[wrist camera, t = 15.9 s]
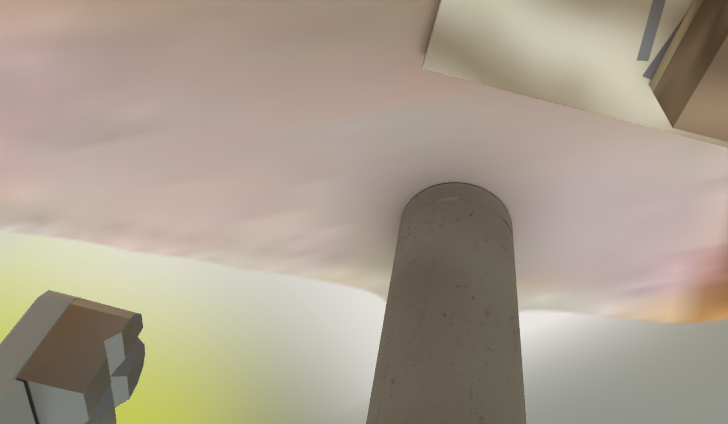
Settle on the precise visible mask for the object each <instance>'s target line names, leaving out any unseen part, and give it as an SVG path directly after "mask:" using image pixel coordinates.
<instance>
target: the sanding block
mask: <svg viewBox="0 0 728 424" xmlns="http://www.w3.org/2000/svg"><path fill="white" fill-rule="evenodd" d="M648 85H649V86H650V88H651V90H652V92H653V94H654V95H655V97H656V99H657V101H658V103H659V104H660V106H661V108H662V110H663V112H664V113H665V115H666V117H667V119H668V121H669V122H670V124H671V126H672V128H674V129H678V130H682V131H686V132H690V133H694V134H698V135H702V136H706V137H710V138H714V139H718V140H722V141H726V142H728V0H694V1H693V3H692V4H691V6H690V8H689V10H688V12H687V14H686V16H685V17H684V19H683V21H682V23H681V25H680V27H679V29H678V30H677V32H676V34H675V36H674V38H673V40H672V42H671V43H670V45H669V47H668V49H667V51H666V53H665V55H664V56H663V58H662V60H661V62H660V64H659V66H658V68H657V69H656V71H655V73H654V75H653V77H652V79H651V81H650V82H649V84H648Z"/></svg>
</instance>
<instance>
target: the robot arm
mask: <svg viewBox="0 0 728 424" xmlns="http://www.w3.org/2000/svg"><path fill="white" fill-rule="evenodd" d="M142 328H143V324H142V316H141V314H139V313H135V312H131V311H127V310H124V309H120V308H116V307H112V306H109V305H105V304H101V303H97V302H93V301H89V300H86V299H82V298H79V297H74V296H71V295H67V294H62V293H58V292H54V291H50V290H49V291H47V292H45V293H44V294H42V295H41V296H40V297H38V298H37V299H36V300H35V302H34V303H33V304H32V305H31V307H30V308H29V309H28V310H27V312H26V313H25V314H24V315H23V317H22V318H21V319H20V321H19V322H18V323H17V324H16V325H15V326H14V328H13V329H12V330H11V331H10V333H9V334H8V335H7V336H6V338H5V339H4V340H3V341H2V343H1V344H0V424H116V415H115V407H117V406H119V405H120V404H122V403H124V402H125V401H127V400H128V399H130V396H131V395H132V393H133V391H134V389H135V387H136V385H137V383H138V380H139V377H140V374H141V371H142V368H143V364H144V357H145V348H144V344H143V342H142V341H141V340H140V339H139V338H138V335H139V333H140V332H141V330H142Z"/></svg>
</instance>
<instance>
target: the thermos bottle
mask: <svg viewBox="0 0 728 424" xmlns="http://www.w3.org/2000/svg"><path fill="white" fill-rule="evenodd" d="M518 316H519V315H518V301H517V287H516V273H515V259H514V245H513V232H512V223H511V218H510V216H509V213H508V211H507V209H506V208H505V206H504V205H503V204H502V202H501V201H499V200H498V199H497V198H496V197H495V196H494V195H492V194H491V193H489V192H488V191H486V190H484V189H481V188H479V187H476V186H473V185H468V184H463V183H448V184H440V185H437V186H434V187H430V188H428V189H426V190H424V191H422V192H421V193H419V194H418V195H417V196H415V197H414V198H413V199H412V200H411V201H410V202H409V204H408V205H407V206H406V208H405V210H404V212H403V214H402V218H401V223H400V228H399V234H398V240H397V246H396V252H395V258H394V263H393V269H392V275H391V281H390V287H389V293H388V299H387V304H386V310H385V316H384V322H383V328H382V334H381V340H380V346H379V351H378V357H377V364H376V369H375V375H374V381H373V387H372V392H371V398H370V404H369V410H368V416H367V422H366V424H526V412H525V399H524V384H523V370H522V358H521V357H522V356H521V343H520V328H519V317H518Z"/></svg>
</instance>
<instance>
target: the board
mask: <svg viewBox="0 0 728 424" xmlns="http://www.w3.org/2000/svg"><path fill="white" fill-rule="evenodd" d="M693 1H694V0H440V3H439V6H438V10H437V14H436V17H435V21H434V24H433V28H432V31H431V35H430V39H429V42H428V46H427V49H426V53H425V57H424V62H423V68H422V69H424V70H428V71H432V72H436V73H440V74H444V75H448V76H452V77H455V78H459V79H463V80H467V81H471V82H475V83H479V84H483V85H487V86H490V87H494V88H498V89H502V90H506V91H510V92H514V93H518V94H522V95H525V96H529V97H533V98H537V99H541V100H545V101H549V102H553V103H557V104H560V105H564V106H568V107H572V108H576V109H580V110H584V111H588V112H592V113H595V114H599V115H603V116H607V117H611V118H615V119H619V120H623V121H627V122H631V123H634V124H638V125H642V126H646V127H650V128H654V129H658V130H662V131H666V132H669V133H673V134H677V135H681V136H685V137H689V138H693V139H697V140H701V141H704V142H708V143H712V144H716V145H720V146H724V147H728V142H726V141H722V140H718V139H714V138H710V137H706V136H702V135H698V134H694V133H690V132H686V131H682V130H678V129H674V128H672V126H671V124H670V122H669V121H668V119H667V117H666V115H665V113H664V112H663V110H662V108H661V106H660V104H659V103H658V101H657V99H656V97H655V95H654V94H653V92H652V90H651V88H650V86H649V85H648V84H649V82H650V81H651V79H652V77H653V75H654V73H655V71H656V69H657V68H658V66H659V64H660V62H661V60H662V58H663V56H664V55H665V53H666V51H667V49H668V47H669V45H670V43H671V42H672V40H673V38H674V36H675V34H676V32H677V30H678V29H679V27H680V25H681V23H682V21H683V19H684V17H685V16H686V14H687V12H688V10H689V8H690V6H691V4H692V3H693Z"/></svg>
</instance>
